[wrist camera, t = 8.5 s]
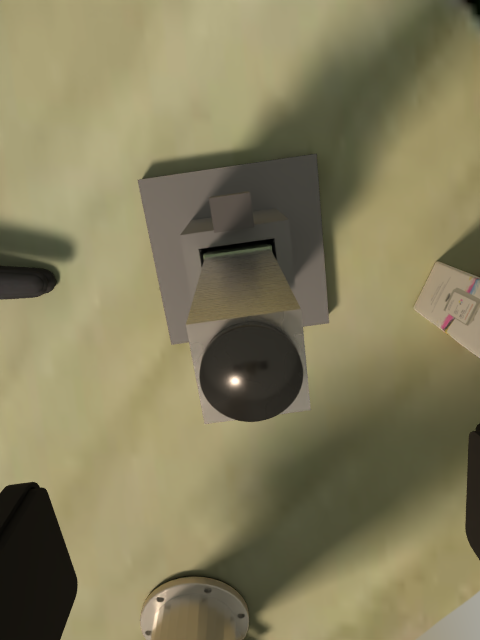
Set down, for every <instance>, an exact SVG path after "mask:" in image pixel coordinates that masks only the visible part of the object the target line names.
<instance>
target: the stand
mask: <svg viewBox="0 0 480 640" xmlns="http://www.w3.org/2000/svg"><path fill="white" fill-rule="evenodd" d="M138 184H139V189H140V194H141V199H142V204H143V208H144V213H145V218H146V223H147V228H148V233H149V238H150V243H151V247H152V252H153V257H154V262H155V267H156V272H157V277H158V281H159V286H160V291H161V296H162V301H163V306H164V311H165V315H166V320H167V325H168V330H169V335H170V340H171V345H172V344H180V343H187V342H189V339H188V334H187V328H186V322H187V319H188V315H189V312H190V308H191V305H192V301H193V298H194V294H195V291H196V287H197V284H198V280H199V277H200V273H201V269H202V266H203V262H204V258H203V254H204V253H206V252H207V248H209V247H216V246H223V245H230V244H237V243H244V242H251V241H258V240H265V239H266V241H267V243H268V244H271V246H272V253H273V255H274V257H275V259H276V260H277V262H278V264H279V266H280V268H281V270H282V272H283V274H284V276H285V278H286V280H287V282H288V284H289V286H290V288H291V290H292V292H293V294H294V296H295V298H296V300H297V302H298V304H299V306H300V308H301V314H302V324H303V327H304V326H311V325H319V324H326V323H329V315H328V301H327V288H326V274H325V261H324V247H323V234H322V220H321V207H320V193H319V180H318V167H317V154H311V155H304V156H297V157H290V158H283V159H277V160H270V161H263V162H256V163H249V164H242V165H236V166H229V167H222V168H215V169H208V170H201V171H195V172H188V173H181V174H174V175H167V176H160V177H154V178H147V179H140V180H138Z"/></svg>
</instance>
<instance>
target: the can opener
mask: <svg viewBox="0 0 480 640" xmlns="http://www.w3.org/2000/svg"><path fill="white" fill-rule="evenodd" d="M55 285H56V279H55V276H54V275H53V274H52V273H51V272H50V271H48V270H46V269H40V268H28V267H11V266H0V299H19V298H32V297H38V296H41V295H43V294H45V293H49V292H50V291H52V290H53V289H54V287H55Z"/></svg>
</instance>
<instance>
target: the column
mask: <svg viewBox="0 0 480 640" xmlns="http://www.w3.org/2000/svg"><path fill="white" fill-rule="evenodd" d="M203 258H204V262H203V266H202V269H201V273H200V277H199V280H198V284H197V287H196V291H195V294H194V298H193V301H192V305H191V308H190V312H189V315H188V319H187V322H186V328H187V334H188V339H189V344H190V349H191V355H192V360H193V365H194V370H195V376H196V381H197V386H198V391H199V397H200V402H201V407H202V412H203V418H204V423H205V424H209V423H216V422H224V421H231V420H238V421H245V422H255V421H262V420H266V419H269V418H272V417H274V416H276V415H278V414H285V413H292V412H300V411H307V410H311V408H310V397H309V387H308V376H307V366H306V356H305V345H304V335H303V324H302V314H301V308H300V306H299V304H298V302H297V300H296V298H295V296H294V294H293V292H292V290H291V288H290V286H289V284H288V282H287V280H286V278H285V276H284V274H283V272H282V270H281V268H280V266H279V264H278V262H277V260H276V259H275V257H274V255H273V253H272V246H271V244H268V243H267V241H266V239H265V240H258V241H251V242H244V243H237V244H230V245H223V246H216V247H209V248H207V252H206V253H204V254H203Z"/></svg>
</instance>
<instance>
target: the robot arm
mask: <svg viewBox="0 0 480 640" xmlns="http://www.w3.org/2000/svg"><path fill="white" fill-rule="evenodd" d="M466 535H467V538H468V541H469V543H470V546H471V547H472V549H473V551H474V552H475V554H476V555H477V557H478V558H479V560H480V424H478V425H477V427H476V431H472V432H470V434H469V445H468V472H467V500H466ZM76 594H77V577H76V574H75V571H74V568H73V565H72V562H71V559H70V556H69V553H68V550H67V547H66V545H65V542H64V539H63V536H62V533H61V530H60V527H59V524H58V521H57V518H56V515H55V512H54V510H53V507H52V504H51V501H50V498H49V495H48V492H47V490H46V489H45V488H40V487H39V485H38V484H37V483H36V482H29V483H21V484H14V485H8V486H6V487H5V488H4V489H3V490H2V492H1V493H0V640H60V639H61V636H62V633H63V630H64V628H65V625H66V622H67V619H68V617H69V614H70V611H71V608H72V606H73V603H74V600H75V597H76ZM140 626H141V630H142V633H143V635H144V637H145V638H146V640H243V639H244V638H245V636H246V634H247V631H248V627H249V612H248V608H247V604H246V603H245V601H244V599H243V597H242V596H241V595H240V594H239V593H238V592H237V591H236V590H235V589H233V588H232V587H231V586H229V585H227V584H225V583H223V582H221V581H218V580H215V579H212V578H206V577H184V578H179V579H175V580H171V581H169V582H167V583H165V584H162V585H161V586H159V587H158V588H156V589H155V590H154V591H153V592H152V593H151V594H150V595H149V596H148V597H147V599H146V601H145V602H144V605H143V608H142V612H141V618H140Z"/></svg>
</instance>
